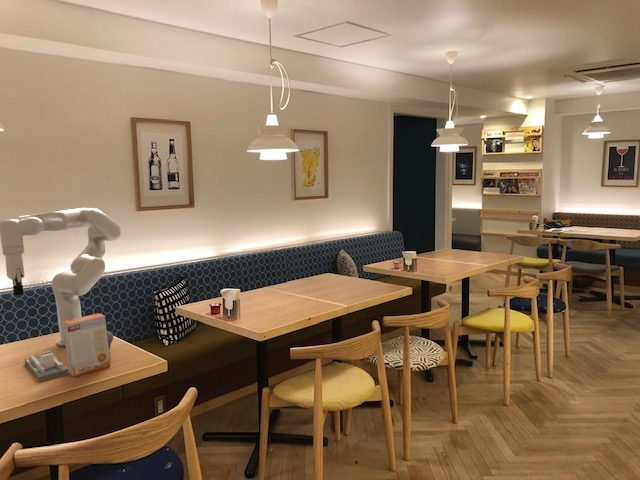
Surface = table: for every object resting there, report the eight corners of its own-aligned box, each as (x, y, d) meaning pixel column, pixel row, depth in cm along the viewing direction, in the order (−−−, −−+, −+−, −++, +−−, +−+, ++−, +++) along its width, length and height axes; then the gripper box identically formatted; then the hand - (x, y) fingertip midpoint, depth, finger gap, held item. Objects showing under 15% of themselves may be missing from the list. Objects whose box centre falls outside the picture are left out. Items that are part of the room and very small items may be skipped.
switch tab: (52, 363, 205) (50, 349, 204) (54, 366, 202) (53, 352, 201) (41, 366, 203) (39, 352, 202) (44, 369, 200) (42, 354, 199)
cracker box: (105, 363, 210) (99, 312, 207) (111, 367, 206) (105, 315, 203) (68, 373, 201) (62, 320, 198) (73, 377, 197) (67, 323, 193)
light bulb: (96, 356, 217) (93, 333, 216) (104, 351, 223) (102, 328, 222) (109, 357, 216) (107, 333, 215) (117, 351, 222) (115, 329, 221)
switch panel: (52, 357, 218) (51, 348, 218) (68, 374, 200) (67, 364, 200) (25, 364, 212) (24, 354, 211) (39, 381, 194) (38, 372, 193)
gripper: (-1, 249, 215) (4, 293, 218) (6, 253, 204) (12, 299, 206) (19, 247, 220) (25, 289, 222) (27, 251, 208) (33, 296, 211)
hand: (18, 294), depth 214 cm, fingers closed
